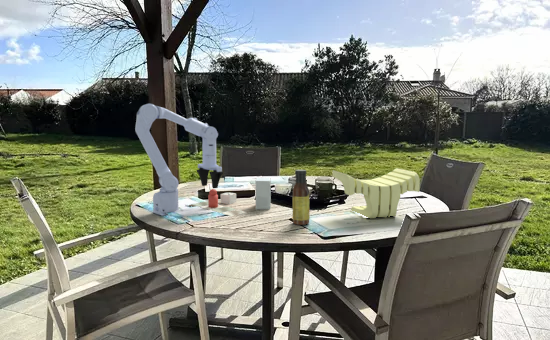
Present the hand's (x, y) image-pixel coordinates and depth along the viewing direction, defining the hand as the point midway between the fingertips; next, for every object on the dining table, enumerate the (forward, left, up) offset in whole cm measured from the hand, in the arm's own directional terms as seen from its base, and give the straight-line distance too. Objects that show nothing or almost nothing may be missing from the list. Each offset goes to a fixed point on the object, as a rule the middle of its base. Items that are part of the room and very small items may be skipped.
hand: (209, 186), depth 156 cm
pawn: (0, -2, -8) cm, 9 cm away
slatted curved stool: (+41, -55, -10) cm, 69 cm away
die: (+10, 0, -10) cm, 14 cm away
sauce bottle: (+10, -42, -10) cm, 44 cm away
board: (0, -5, -9) cm, 11 cm away
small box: (+15, -17, -10) cm, 25 cm away
